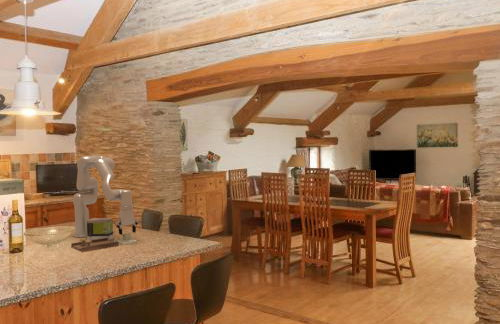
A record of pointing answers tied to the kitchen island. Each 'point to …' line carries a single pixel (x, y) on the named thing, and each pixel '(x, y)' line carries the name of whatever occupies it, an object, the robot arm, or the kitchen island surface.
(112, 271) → the kitchen island surface
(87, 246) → the board
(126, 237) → the panel
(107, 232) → the tea box
